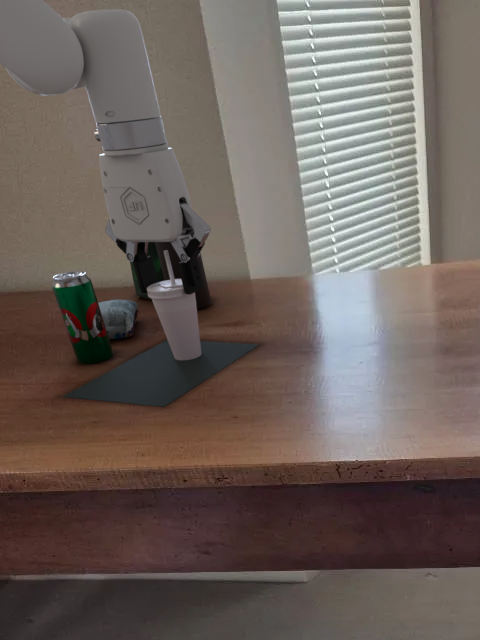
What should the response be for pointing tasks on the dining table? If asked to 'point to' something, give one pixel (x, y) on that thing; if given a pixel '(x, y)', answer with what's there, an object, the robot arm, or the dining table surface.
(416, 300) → the dining table surface
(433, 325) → the dining table surface
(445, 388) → the dining table surface
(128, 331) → the packaged food
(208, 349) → the mat
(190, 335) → the smoothie
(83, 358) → the soda can
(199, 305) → the vinegar
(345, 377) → the dining table surface
